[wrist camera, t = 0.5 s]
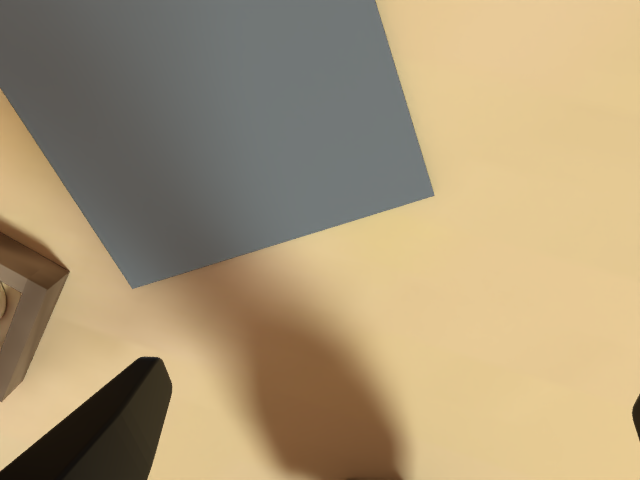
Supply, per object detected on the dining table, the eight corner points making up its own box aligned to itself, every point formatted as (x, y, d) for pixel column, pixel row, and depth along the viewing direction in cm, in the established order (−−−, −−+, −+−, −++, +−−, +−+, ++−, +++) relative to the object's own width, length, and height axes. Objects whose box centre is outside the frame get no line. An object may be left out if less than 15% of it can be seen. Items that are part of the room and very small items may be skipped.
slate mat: (433, 192, 22) (434, 195, 21) (135, 285, 26) (132, 289, 26) (287, -288, 15) (285, -295, 14) (-79, -44, 20) (-87, -45, 19)
